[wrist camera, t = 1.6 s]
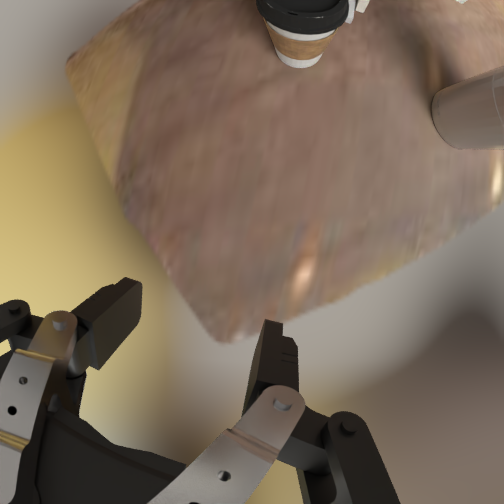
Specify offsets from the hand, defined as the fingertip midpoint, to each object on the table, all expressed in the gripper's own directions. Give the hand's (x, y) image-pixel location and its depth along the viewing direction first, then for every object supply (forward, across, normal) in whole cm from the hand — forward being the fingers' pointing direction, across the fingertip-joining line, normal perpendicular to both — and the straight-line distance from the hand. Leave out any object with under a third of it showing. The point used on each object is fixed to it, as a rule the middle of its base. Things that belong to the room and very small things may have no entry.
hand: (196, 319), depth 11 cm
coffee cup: (+26, 0, -23) cm, 34 cm away
